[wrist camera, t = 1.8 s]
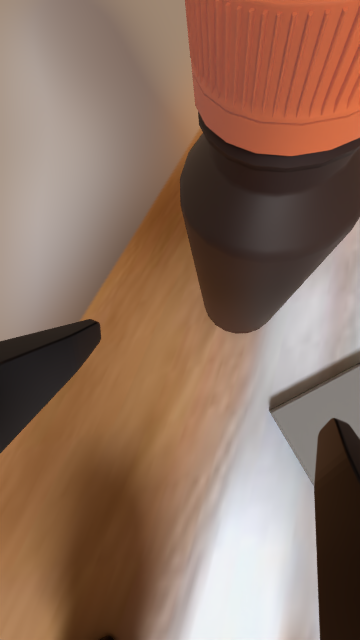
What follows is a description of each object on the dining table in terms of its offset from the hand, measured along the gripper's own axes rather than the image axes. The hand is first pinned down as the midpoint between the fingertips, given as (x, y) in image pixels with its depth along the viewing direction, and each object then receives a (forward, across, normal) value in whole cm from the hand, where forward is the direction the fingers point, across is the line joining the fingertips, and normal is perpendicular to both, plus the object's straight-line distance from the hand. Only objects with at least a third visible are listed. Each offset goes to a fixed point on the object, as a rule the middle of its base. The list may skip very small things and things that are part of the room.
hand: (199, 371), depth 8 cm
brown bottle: (+15, 0, +4) cm, 16 cm away
